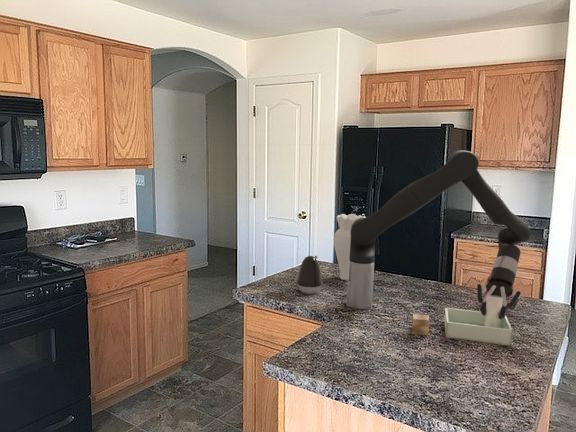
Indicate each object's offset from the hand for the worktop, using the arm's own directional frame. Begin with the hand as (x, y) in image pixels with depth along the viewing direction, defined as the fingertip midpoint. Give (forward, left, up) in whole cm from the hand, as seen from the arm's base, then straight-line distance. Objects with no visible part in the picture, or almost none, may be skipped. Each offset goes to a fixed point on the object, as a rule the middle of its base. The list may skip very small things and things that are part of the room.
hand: (491, 316), depth 154 cm
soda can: (+6, +35, -7) cm, 36 cm away
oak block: (-22, -4, -7) cm, 23 cm away
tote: (-4, +1, -7) cm, 8 cm away
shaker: (+1, +2, -4) cm, 5 cm away
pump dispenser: (-66, +25, -7) cm, 71 cm away
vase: (-54, +52, -7) cm, 75 cm away
